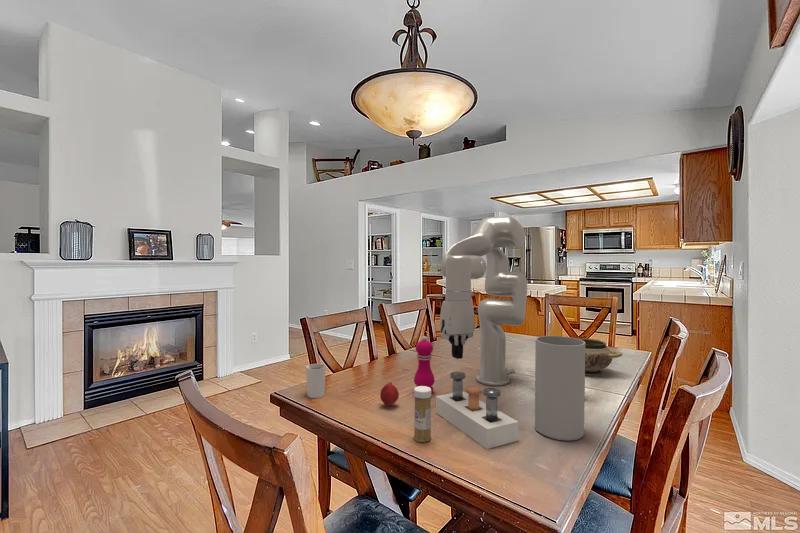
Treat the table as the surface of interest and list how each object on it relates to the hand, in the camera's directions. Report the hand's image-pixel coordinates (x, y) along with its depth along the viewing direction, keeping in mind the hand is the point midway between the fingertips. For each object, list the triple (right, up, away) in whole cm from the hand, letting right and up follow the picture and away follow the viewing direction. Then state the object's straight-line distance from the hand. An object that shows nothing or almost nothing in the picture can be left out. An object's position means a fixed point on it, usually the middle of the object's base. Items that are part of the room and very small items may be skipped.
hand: (457, 357), depth 116 cm
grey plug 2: (+7, -13, -14) cm, 20 cm away
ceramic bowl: (+60, -17, +44) cm, 76 cm away
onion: (-21, -18, +8) cm, 28 cm away
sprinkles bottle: (-11, -18, -14) cm, 26 cm away
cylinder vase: (+26, -18, -10) cm, 34 cm away
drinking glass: (-46, -17, +18) cm, 52 cm away
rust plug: (+4, -15, -6) cm, 17 cm away
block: (+4, -18, -6) cm, 19 cm away
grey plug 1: (0, -13, +1) cm, 13 cm away
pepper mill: (-9, -17, +20) cm, 28 cm away
